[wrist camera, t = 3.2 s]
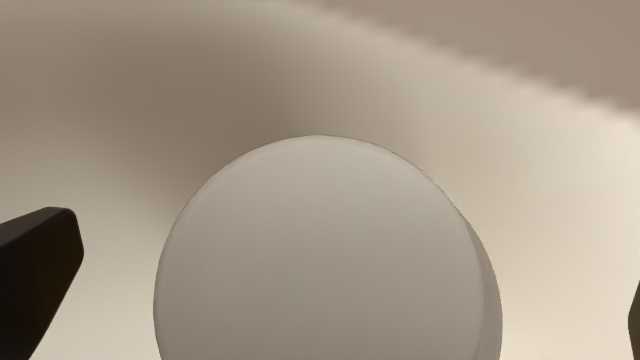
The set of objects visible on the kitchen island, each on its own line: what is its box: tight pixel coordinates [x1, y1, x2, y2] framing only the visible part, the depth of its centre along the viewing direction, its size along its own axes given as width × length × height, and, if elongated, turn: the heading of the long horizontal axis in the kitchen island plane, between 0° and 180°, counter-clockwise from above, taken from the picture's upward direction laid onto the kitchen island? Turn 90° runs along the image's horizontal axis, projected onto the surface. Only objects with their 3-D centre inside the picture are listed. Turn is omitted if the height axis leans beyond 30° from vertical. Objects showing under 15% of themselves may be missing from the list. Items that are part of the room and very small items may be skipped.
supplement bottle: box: [153, 135, 502, 360], centre depth 11 cm, size 5×5×10 cm
